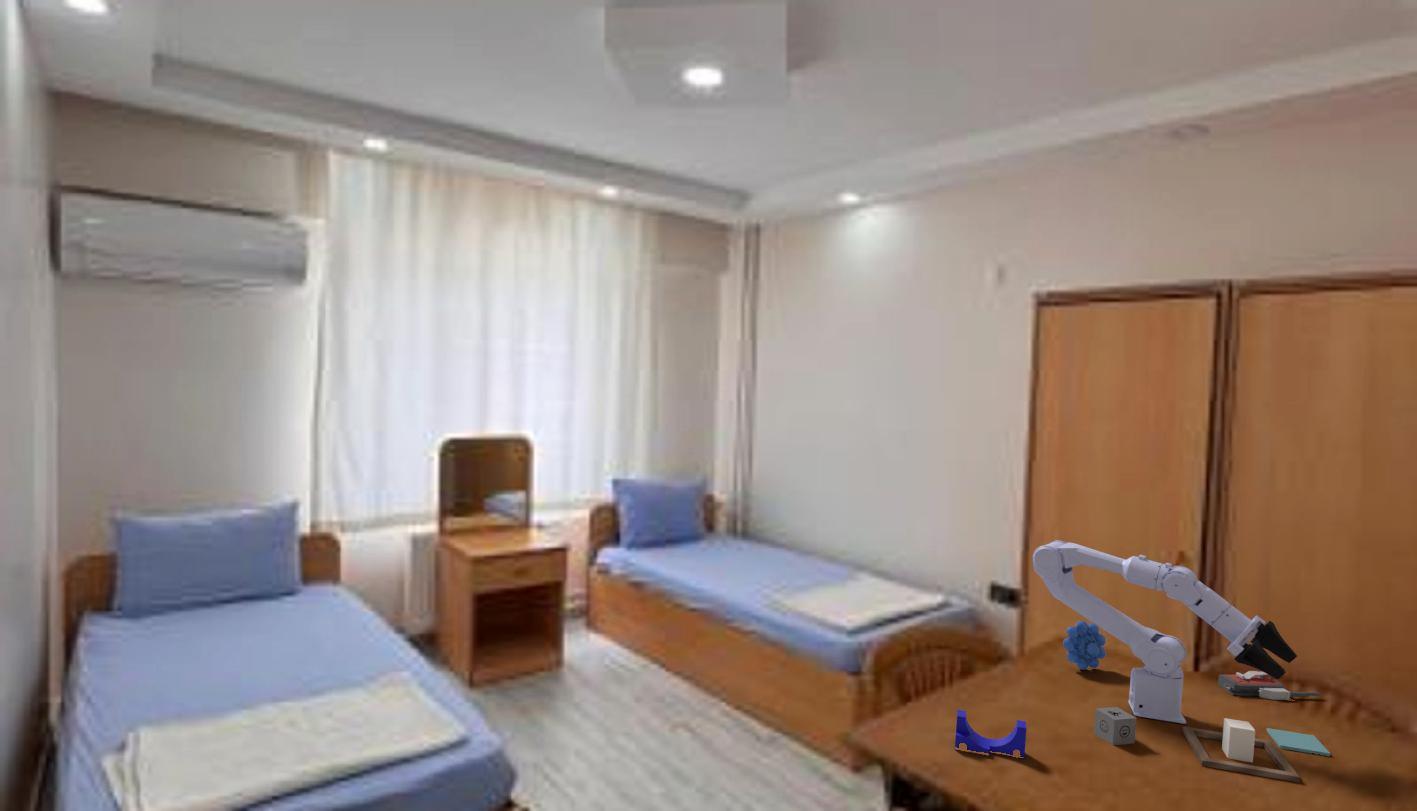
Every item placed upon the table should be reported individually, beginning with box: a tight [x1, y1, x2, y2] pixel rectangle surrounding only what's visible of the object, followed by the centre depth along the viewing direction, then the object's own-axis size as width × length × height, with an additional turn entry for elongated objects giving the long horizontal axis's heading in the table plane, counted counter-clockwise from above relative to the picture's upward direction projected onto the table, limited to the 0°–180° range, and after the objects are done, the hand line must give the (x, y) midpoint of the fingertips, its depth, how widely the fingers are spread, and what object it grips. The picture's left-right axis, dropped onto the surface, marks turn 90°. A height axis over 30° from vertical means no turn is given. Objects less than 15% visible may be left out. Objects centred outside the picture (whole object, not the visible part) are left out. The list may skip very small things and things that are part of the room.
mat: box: [1266, 727, 1331, 757], centre depth 157 cm, size 8×8×1 cm
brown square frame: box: [1182, 726, 1301, 784], centre depth 151 cm, size 15×15×1 cm
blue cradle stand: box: [954, 709, 1027, 758], centre depth 148 cm, size 12×4×6 cm, turn 71°
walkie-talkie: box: [1217, 670, 1321, 701], centre depth 183 cm, size 9×4×20 cm
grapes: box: [1062, 619, 1107, 671], centre depth 191 cm, size 12×7×12 cm, turn 104°
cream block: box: [1221, 717, 1256, 763], centre depth 151 cm, size 4×4×6 cm
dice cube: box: [1093, 706, 1137, 746], centre depth 156 cm, size 5×5×5 cm
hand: (1287, 667), depth 154 cm, fingers open, 7 cm apart
